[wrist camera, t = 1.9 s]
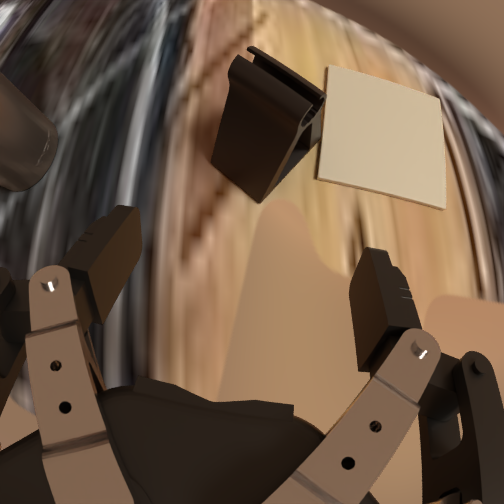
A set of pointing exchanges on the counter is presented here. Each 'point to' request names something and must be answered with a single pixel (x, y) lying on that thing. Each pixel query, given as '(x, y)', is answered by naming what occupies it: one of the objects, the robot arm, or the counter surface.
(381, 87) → the board
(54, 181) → the counter surface
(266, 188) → the phone stand
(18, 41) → the counter surface
